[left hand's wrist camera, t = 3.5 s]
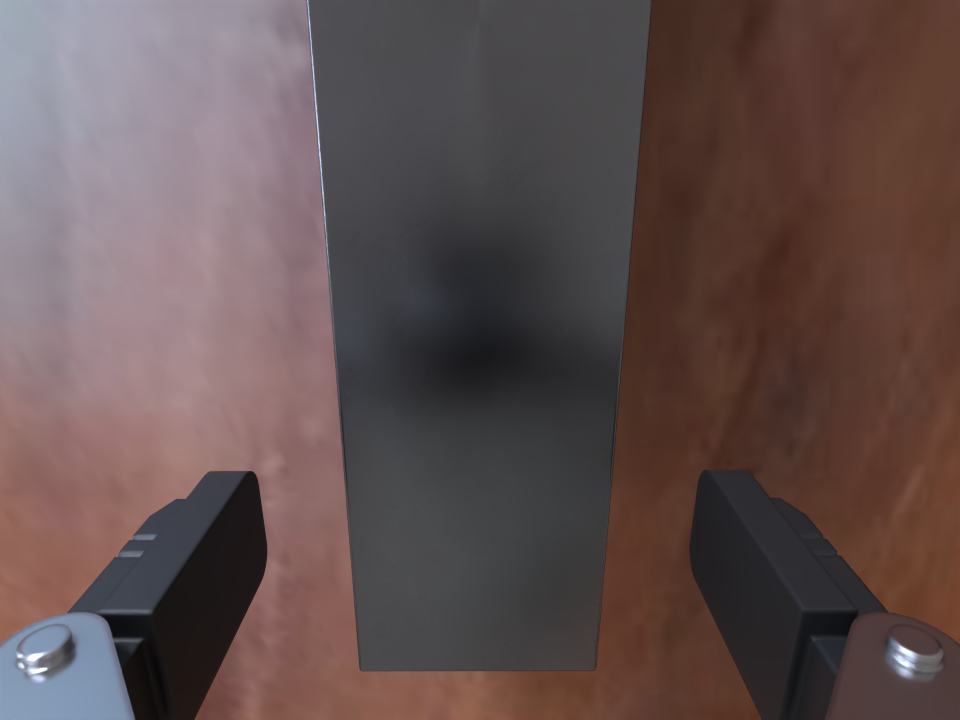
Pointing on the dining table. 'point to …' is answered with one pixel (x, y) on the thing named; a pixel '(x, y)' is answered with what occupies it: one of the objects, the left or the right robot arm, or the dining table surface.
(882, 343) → the dining table surface
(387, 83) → the bar
